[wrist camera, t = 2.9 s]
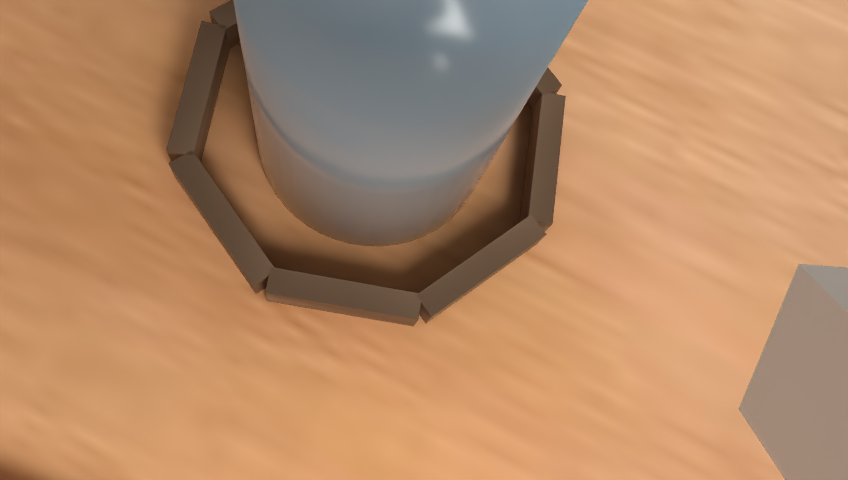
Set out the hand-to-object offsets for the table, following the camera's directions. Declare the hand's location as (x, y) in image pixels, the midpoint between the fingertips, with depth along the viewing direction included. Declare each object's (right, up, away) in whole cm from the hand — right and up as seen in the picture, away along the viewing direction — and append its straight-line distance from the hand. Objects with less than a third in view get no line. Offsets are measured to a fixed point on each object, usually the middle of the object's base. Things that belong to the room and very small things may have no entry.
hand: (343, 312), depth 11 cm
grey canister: (-1, +5, +15) cm, 16 cm away
